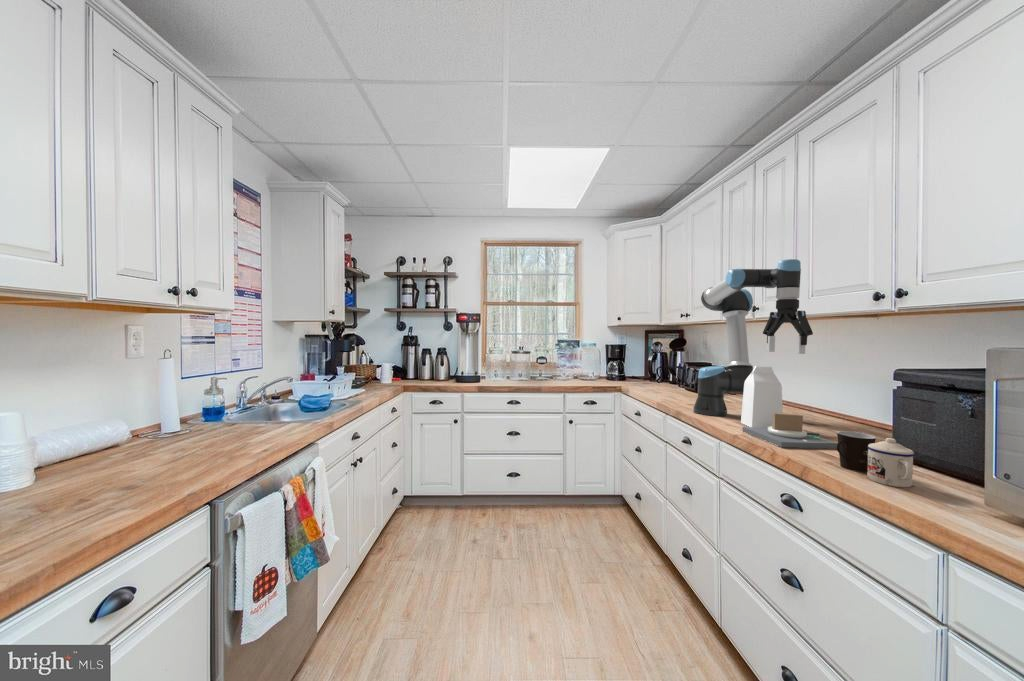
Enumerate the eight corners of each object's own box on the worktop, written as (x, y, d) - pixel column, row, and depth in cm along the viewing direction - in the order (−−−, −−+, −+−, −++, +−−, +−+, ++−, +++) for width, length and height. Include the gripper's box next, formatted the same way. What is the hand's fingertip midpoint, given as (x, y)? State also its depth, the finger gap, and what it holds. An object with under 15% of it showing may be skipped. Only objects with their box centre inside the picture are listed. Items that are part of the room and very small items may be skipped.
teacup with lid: (858, 474, 110) (859, 433, 110) (896, 477, 108) (898, 435, 108) (888, 490, 98) (890, 444, 98) (932, 494, 96) (934, 448, 96)
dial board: (742, 431, 157) (742, 426, 157) (791, 432, 157) (791, 427, 157) (781, 447, 135) (781, 441, 135) (837, 448, 135) (838, 442, 135)
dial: (774, 436, 142) (775, 415, 142) (762, 428, 153) (763, 410, 153) (827, 440, 138) (827, 419, 138) (810, 432, 149) (811, 413, 149)
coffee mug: (858, 464, 119) (860, 431, 119) (882, 474, 110) (884, 439, 110) (818, 462, 120) (819, 429, 120) (838, 471, 111) (839, 437, 111)
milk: (751, 428, 164) (753, 366, 163) (740, 422, 175) (742, 364, 175) (783, 430, 161) (785, 368, 161) (770, 424, 173) (772, 365, 172)
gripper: (826, 297, 142) (823, 354, 143) (769, 301, 167) (767, 351, 167) (809, 296, 141) (806, 354, 142) (754, 301, 166) (752, 350, 166)
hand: (785, 352), depth 155 cm, fingers open, 13 cm apart
